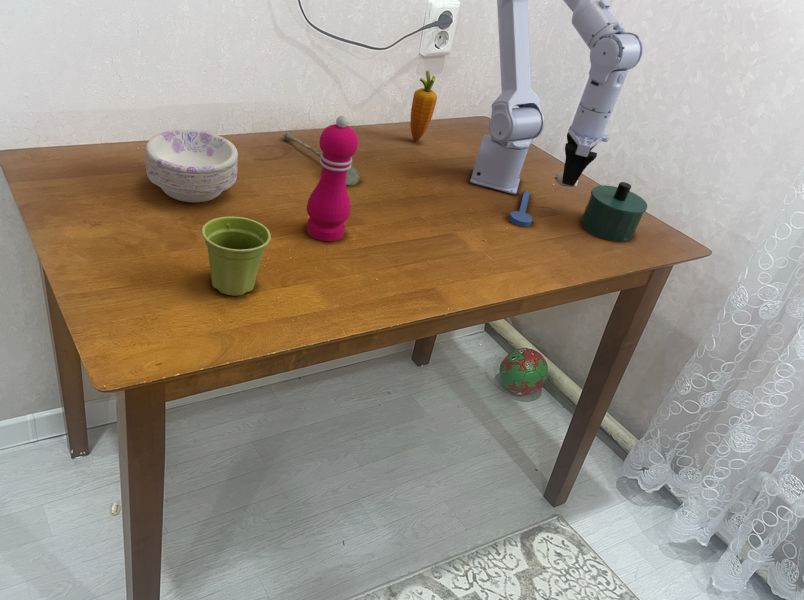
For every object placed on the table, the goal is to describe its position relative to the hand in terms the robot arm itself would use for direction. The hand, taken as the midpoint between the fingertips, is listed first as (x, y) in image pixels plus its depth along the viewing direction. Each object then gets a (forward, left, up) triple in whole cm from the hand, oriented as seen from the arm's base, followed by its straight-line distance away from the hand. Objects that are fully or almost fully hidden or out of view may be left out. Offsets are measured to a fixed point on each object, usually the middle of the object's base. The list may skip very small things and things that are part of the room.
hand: (568, 179), depth 132 cm
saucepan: (+10, +2, -8) cm, 13 cm away
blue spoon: (-6, +1, -8) cm, 10 cm away
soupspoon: (-47, -3, -8) cm, 48 cm away
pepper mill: (-37, -29, -8) cm, 48 cm away
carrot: (-32, +20, -8) cm, 39 cm away
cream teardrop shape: (0, 0, -2) cm, 2 cm away
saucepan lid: (+10, +2, -2) cm, 11 cm away
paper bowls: (-62, -28, -8) cm, 69 cm away
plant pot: (-44, -51, -8) cm, 68 cm away
